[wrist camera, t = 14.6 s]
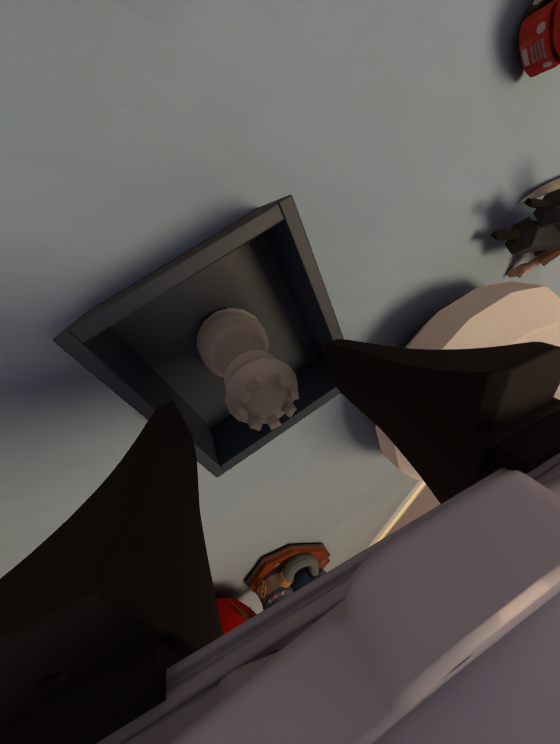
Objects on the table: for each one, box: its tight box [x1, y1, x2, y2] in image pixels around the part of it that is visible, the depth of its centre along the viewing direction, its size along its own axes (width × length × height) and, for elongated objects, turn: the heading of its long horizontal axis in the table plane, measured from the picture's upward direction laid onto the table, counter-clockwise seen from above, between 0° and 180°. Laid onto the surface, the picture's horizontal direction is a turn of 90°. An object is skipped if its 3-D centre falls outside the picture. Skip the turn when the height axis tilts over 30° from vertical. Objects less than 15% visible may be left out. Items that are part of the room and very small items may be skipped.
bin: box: [53, 195, 344, 477], centre depth 15 cm, size 11×11×4 cm
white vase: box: [375, 282, 560, 480], centre depth 19 cm, size 20×20×19 cm
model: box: [245, 544, 330, 610], centre depth 30 cm, size 12×9×9 cm
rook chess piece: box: [197, 308, 299, 431], centre depth 13 cm, size 4×4×8 cm
